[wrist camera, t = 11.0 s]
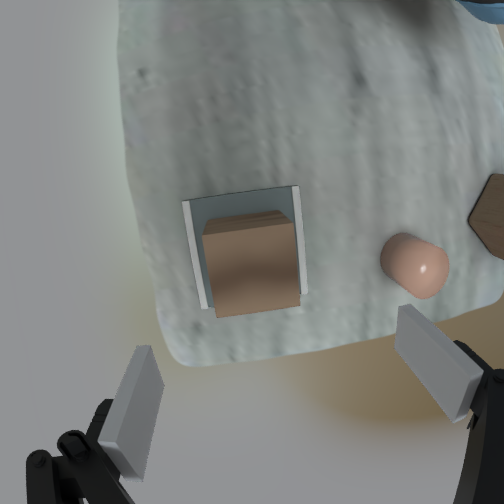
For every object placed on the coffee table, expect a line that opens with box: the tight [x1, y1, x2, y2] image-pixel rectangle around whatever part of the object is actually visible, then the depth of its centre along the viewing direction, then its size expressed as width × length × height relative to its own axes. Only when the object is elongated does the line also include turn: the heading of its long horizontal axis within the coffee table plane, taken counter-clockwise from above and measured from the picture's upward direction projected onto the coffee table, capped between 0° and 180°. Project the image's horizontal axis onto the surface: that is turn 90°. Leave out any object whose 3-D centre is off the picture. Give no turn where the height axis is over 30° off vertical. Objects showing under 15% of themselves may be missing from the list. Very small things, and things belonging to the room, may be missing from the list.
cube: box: [202, 210, 300, 318], centre depth 32 cm, size 8×8×8 cm
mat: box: [182, 185, 308, 309], centre depth 36 cm, size 13×13×1 cm
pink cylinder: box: [380, 233, 449, 299], centre depth 35 cm, size 6×6×7 cm
